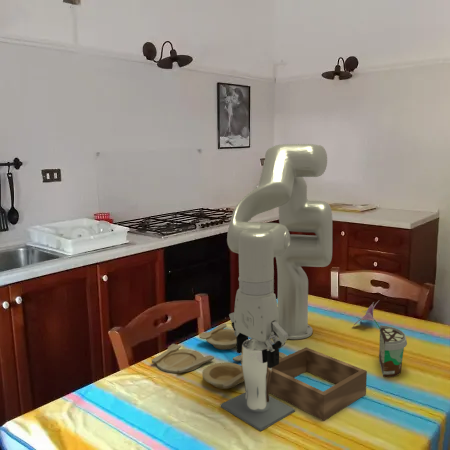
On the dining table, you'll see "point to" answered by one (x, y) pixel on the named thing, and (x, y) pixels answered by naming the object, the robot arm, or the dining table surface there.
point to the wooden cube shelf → (310, 396)
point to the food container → (391, 350)
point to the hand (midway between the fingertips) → (257, 358)
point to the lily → (369, 314)
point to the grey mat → (258, 419)
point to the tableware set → (206, 359)
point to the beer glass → (255, 375)
